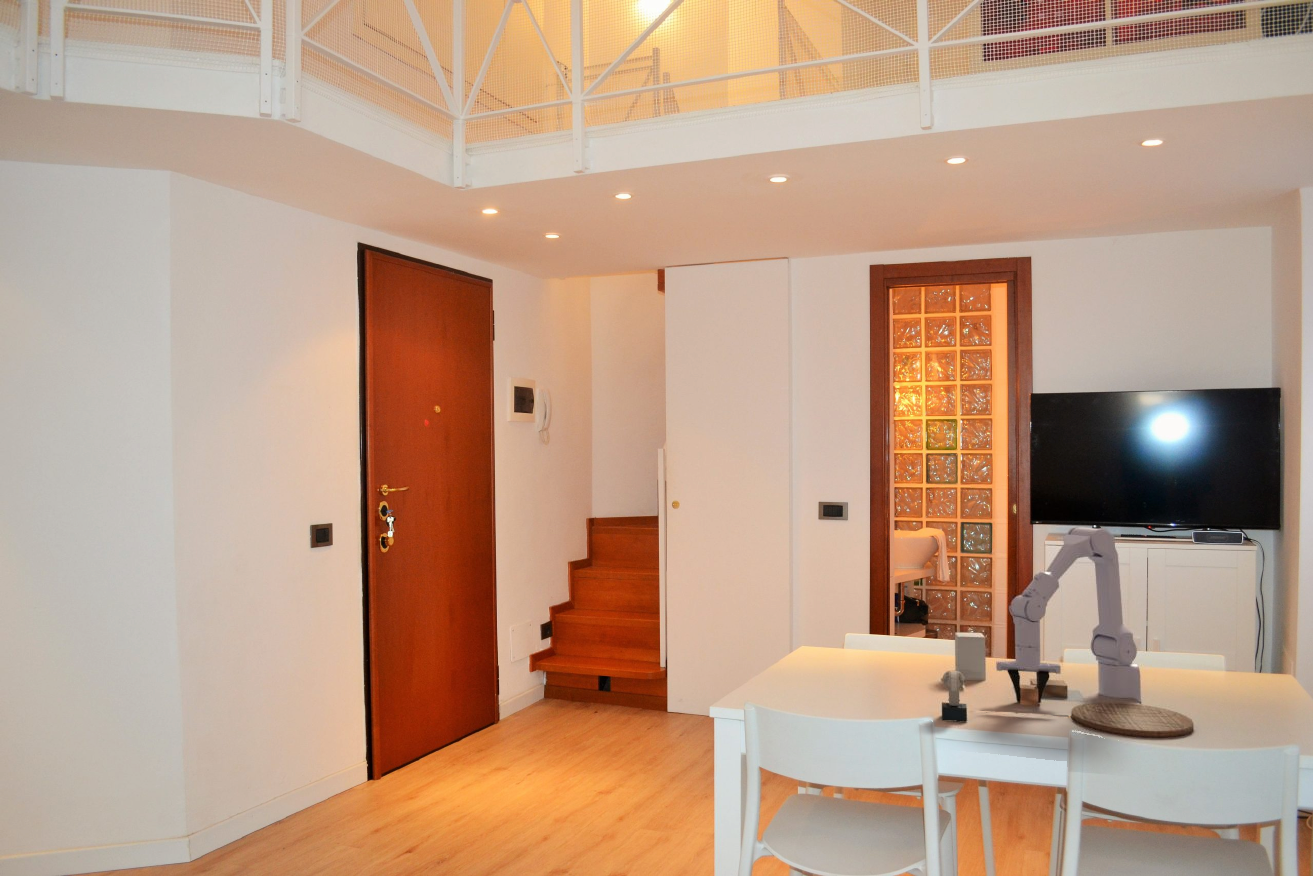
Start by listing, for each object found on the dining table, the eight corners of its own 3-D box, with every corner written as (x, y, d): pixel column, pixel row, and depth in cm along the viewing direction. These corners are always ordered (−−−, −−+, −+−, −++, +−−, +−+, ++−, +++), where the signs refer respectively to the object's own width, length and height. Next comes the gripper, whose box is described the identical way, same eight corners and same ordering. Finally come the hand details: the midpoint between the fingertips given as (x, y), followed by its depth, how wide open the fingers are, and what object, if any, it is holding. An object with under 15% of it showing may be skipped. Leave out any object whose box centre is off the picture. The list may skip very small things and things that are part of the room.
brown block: (1063, 692, 245) (1063, 680, 245) (1067, 697, 239) (1067, 685, 239) (1030, 690, 247) (1030, 678, 247) (1033, 696, 241) (1033, 684, 241)
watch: (966, 715, 227) (965, 668, 227) (967, 724, 219) (966, 675, 219) (941, 713, 228) (940, 667, 229) (941, 722, 221) (940, 674, 221)
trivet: (1207, 743, 204) (1207, 734, 204) (1080, 735, 211) (1080, 726, 211) (1177, 714, 228) (1177, 706, 228) (1064, 707, 235) (1064, 699, 235)
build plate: (1078, 694, 246) (1078, 690, 246) (1087, 705, 235) (1087, 701, 235) (1012, 691, 250) (1012, 687, 251) (1017, 702, 239) (1017, 698, 239)
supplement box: (986, 684, 258) (985, 637, 259) (957, 683, 260) (957, 636, 260) (982, 678, 266) (982, 632, 266) (954, 677, 267) (954, 631, 267)
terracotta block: (1036, 706, 235) (1036, 685, 235) (1038, 710, 231) (1038, 689, 231) (1019, 705, 236) (1018, 684, 236) (1020, 709, 232) (1020, 688, 232)
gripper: (997, 647, 232) (998, 703, 232) (1062, 649, 228) (1063, 707, 228) (995, 641, 239) (996, 696, 238) (1057, 644, 235) (1058, 700, 235)
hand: (1028, 701), depth 234 cm, fingers closed on terracotta block, 4 cm apart
